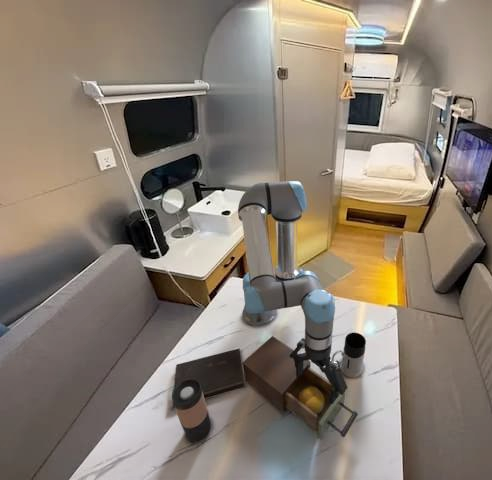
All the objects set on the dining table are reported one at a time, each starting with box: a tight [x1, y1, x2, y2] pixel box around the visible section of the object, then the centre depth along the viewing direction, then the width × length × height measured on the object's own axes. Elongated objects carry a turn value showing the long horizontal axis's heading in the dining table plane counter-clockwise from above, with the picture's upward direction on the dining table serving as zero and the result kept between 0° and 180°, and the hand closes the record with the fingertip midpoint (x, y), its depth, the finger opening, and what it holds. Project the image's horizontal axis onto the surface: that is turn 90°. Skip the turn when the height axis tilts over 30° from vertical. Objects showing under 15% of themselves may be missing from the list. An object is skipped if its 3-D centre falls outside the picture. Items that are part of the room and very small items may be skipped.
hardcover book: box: [172, 348, 246, 409], centre depth 100 cm, size 16×23×2 cm
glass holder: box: [331, 332, 367, 378], centre depth 102 cm, size 9×14×15 cm, turn 121°
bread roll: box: [298, 386, 325, 414], centre depth 91 cm, size 8×9×4 cm
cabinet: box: [241, 335, 312, 413], centre depth 99 cm, size 19×15×10 cm
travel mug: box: [171, 379, 212, 443], centre depth 81 cm, size 8×8×20 cm
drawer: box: [284, 367, 359, 441], centre depth 89 cm, size 24×14×8 cm, turn 54°
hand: (316, 386), depth 86 cm, fingers open, 13 cm apart
